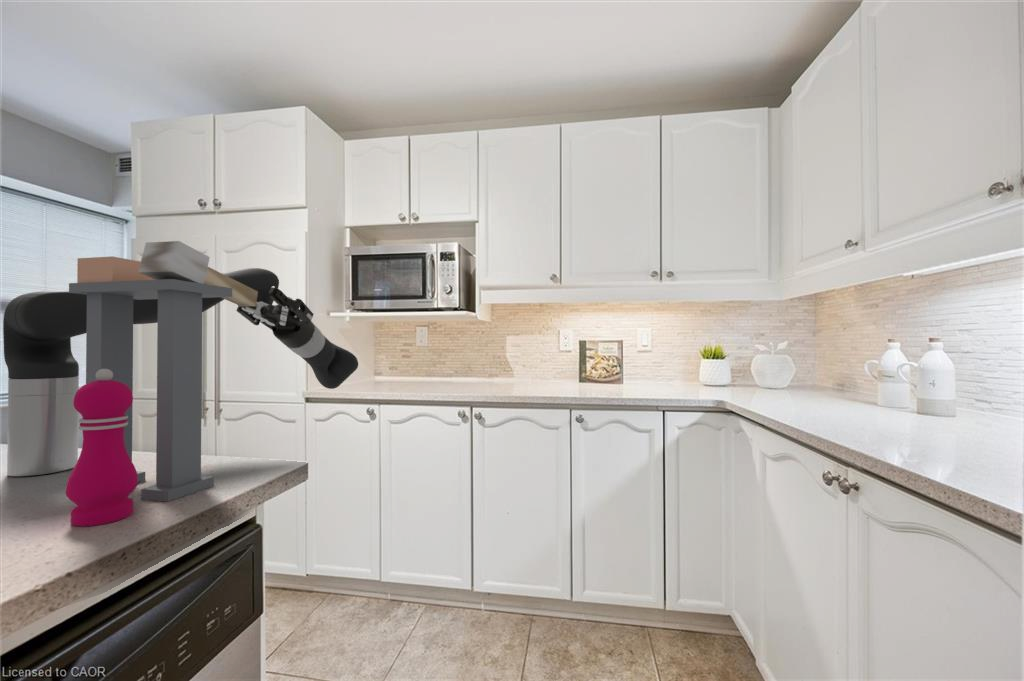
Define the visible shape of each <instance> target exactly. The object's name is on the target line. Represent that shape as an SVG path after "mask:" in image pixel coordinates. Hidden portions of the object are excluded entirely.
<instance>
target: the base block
mask: <svg viewBox="0 0 1024 681" xmlns="http://www.w3.org/2000/svg"><path fill="white" fill-rule="evenodd" d="M140 264H141V260H140V261H139V260H135V259H128V258H124V257H118V256H114V255H113V256H99V257H98V256H94V257H81V258H77V264H76V265H77V269H76V270H77V275H76V276H77V277H76V278H77V279H76V281H77V282H76V283H88V282H113V281H138V280H156V279H153V278H151V277H148V276H146V275H143V274H141V273H139V268H140Z"/></svg>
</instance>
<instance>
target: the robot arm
mask: <svg viewBox="0 0 1024 681" xmlns="http://www.w3.org/2000/svg"><path fill="white" fill-rule="evenodd" d="M222 274H224V275H226V276H228V277H230V278H232V279H234V280H236V281H238V282H240V283H242V284H244V285H246V286H248V287H250V288H252V289H254V290H256V291H258V295H257V300H256V306H239V305H237V308H236V312H237V313H239V314H240V315H241V316H243V317H244V318H245V319H246V320H247V321H249V322H250V323H252V324H253V325H255V326H259V325H260V324H262V325H264V326H265V327H266V328H269V330H272V334H273V336H274V337H275V338H276V339H277V340H278V341H280V342H281V343H282V344H283V345H284V346H286V347H287V348H288V349H289V350H291V351H292V352H293V353H294V354H296V355H298V356H299V357H300V358H302V359H303V361H305V362H306V363H307V364H309V366H310V367H311V369H312V370H313V374H314V376H315V378H316V380H317V381H318V383H320V384H321V386H322V387H324V388H325V389H329V390H333V389H337V388H338V387H339V386H340V385H341V384H343V383H344V382H345V381H346V380H347V379H348V378H349V377H350V376H351V375H352V374H354V372H355V371H356V370H358V367H359V361H358V358H357V357H356V355H354V353H352V352H351V351H349V350H347V349H346V348H342V347H341V346H338V345H336V344H335V343H333V342H332V341H330V340H329V339H328V338H327V337H326V336H325V335H324V334H323V333H322V331H321V330H320V329H319V328H318V327H317V325H315V324H314V323H313V321H312V319H313V317H314V315H315V314H314V313H313V312H312V311H311V309H310V308H309V307H308V306H307V305H306V304H305V303H304V301H303V300H302V299H301V298H295V299H293V298H292V297H289V296H287V295H286V293H284V292H283V291H282V290H280V289H279V286H280V279H279V277H278V275H276V274H275V272H273V271H271V270H268V269H266V268H259V267H253V268H252V267H250V268H243V269H242V268H241V269H237V270H233V271H232V270H231V271H228V272H222ZM223 301H225V299H223V298H221V297H213V298H202V313H204V312H206V311H208V310H210V309H211V308H212V307H214V306H216V305H218V304H219V303H221V302H223ZM274 302H275V303H276V304H275V305H273V304H274ZM2 322H3V324H2V325H3V326H2V330H3V331H2V332H3V334H2V335H3V336H2V337H3V338H2V339H3V357H4V358H3V359H4V363H5V365H6V367H7V370H8V373H7V374H8V377H7V378H8V381H7V385H8V386H7V389H8V390H7V398H8V399H7V453H6V454H7V455H6V459H7V461H6V462H7V463H6V474H7V476H8V477H30V476H39V475H46V474H53V473H59V472H63V471H67V470H71V469H74V467H75V465H76V463H77V461H78V459H79V452H78V451H79V428H78V427H79V421H78V420H79V412H78V411H77V410H76V409H75V408H74V403H73V401H74V396H75V394H76V392H77V391H78V389H79V388H80V387H79V382H80V381H79V379H80V378H79V377H80V372H79V371H80V368H79V366H80V365H79V362H78V361H77V360H76V358H74V356H73V352H72V347H71V346H72V342H71V338H73V337H74V338H75V337H76V336H80V335H86V328H87V294H77V293H69V290H42V291H41V290H40V291H34V292H33V291H32V292H28V293H23V294H21V295H18V296H16V297H15V298H13V299H12V300H11V301H9V303H8V304H7V305H6V307H5V310H4V313H3V321H2ZM156 323H157V324H158V299H144V300H137V299H133V325H148V324H156Z"/></svg>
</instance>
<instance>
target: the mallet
mask: <svg viewBox="0 0 1024 681" xmlns="http://www.w3.org/2000/svg"><path fill="white" fill-rule="evenodd" d="M140 261H141V264H140V268H139V273H141V274H143V275H146V276H148V277H151V278H153V279H156V280H163V279H175V280H182V281H188V282H195V283H201V284H208V285H214V286H221V287H227V288H232V297H221V298H223V299H224V300H225V301H228V302H230V303H233V304H235V305H236V306H238V305H239V306H256V300H257V295H258V291H256V290H254V289H252V288H250V287H248V286H246V285H244V284H242V283H240V282H238V281H236V280H234V279H232V278H230V277H228V276H226V275H224V274H222V273H223V272H222V273H221V272H219V271H217V270H215V269H213V268H211V267H209V262H210V256H209V255H206V254H204V253H203V252H201V251H198V250H197V249H195V248H193V247H191V246H189V245H188V244H186V243H184V242H182V241H180V240H172V241H169V240H168V241H153V242H152V241H151V242H149V241H147V242H145V244H144V249H143V252H142V256H141V260H140Z"/></svg>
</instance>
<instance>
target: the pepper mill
mask: <svg viewBox="0 0 1024 681" xmlns="http://www.w3.org/2000/svg"><path fill="white" fill-rule="evenodd" d="M112 377H113V373H112V371H111V370H109V369H100V370H99V371H97V373H96V378H97V380H99V381H94V382H90V383H88V384H86V383H85V384H83V385H82V386H81V387H79V389H78V391H77V392H76V394H75V396H74V401H73V403H74V408H75V409H76V410H77V411H78V414H79V415H81V417H82V418H78V430H80V431H82V447H81V451H80V454H79V456H78V461H77V463H76V465H75V467H74V468H72V471H71V472H70V474H69V476H68V479H67V482H66V489H65V495H66V497H67V499H68V500H69V501H70V502H72V503H73V504H74V505H75V507H73V508H71V510H70V524H71V525H72V526H74V527H83V528H84V527H94V526H95V527H96V526H100V525H106V524H110V523H114V522H117V521H120V520H123V519H126V518H128V517H130V516H131V515H132V514H133V513H134V500H133V498H130V497H129V496H130V495H131V494H132V493H133V492H134V490H136V488H137V486H138V483H139V482H138V477H137V472H136V471H137V469H136V466H135V464H134V463H133V460H132V461H131V459H130V458H129V456H128V453H127V451H126V448H125V445H124V436H123V435H124V426H126V425H128V422H127V418H128V416H127V415H124V414H125V412H126V411H127V410H128V409H129V408H130V406H131V405H132V406H133V402H134V395H132V391H131V389H130V388H129V387H128V386H127V385H125V384H124V383H121V382H118V381H113V380H111V379H112Z"/></svg>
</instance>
